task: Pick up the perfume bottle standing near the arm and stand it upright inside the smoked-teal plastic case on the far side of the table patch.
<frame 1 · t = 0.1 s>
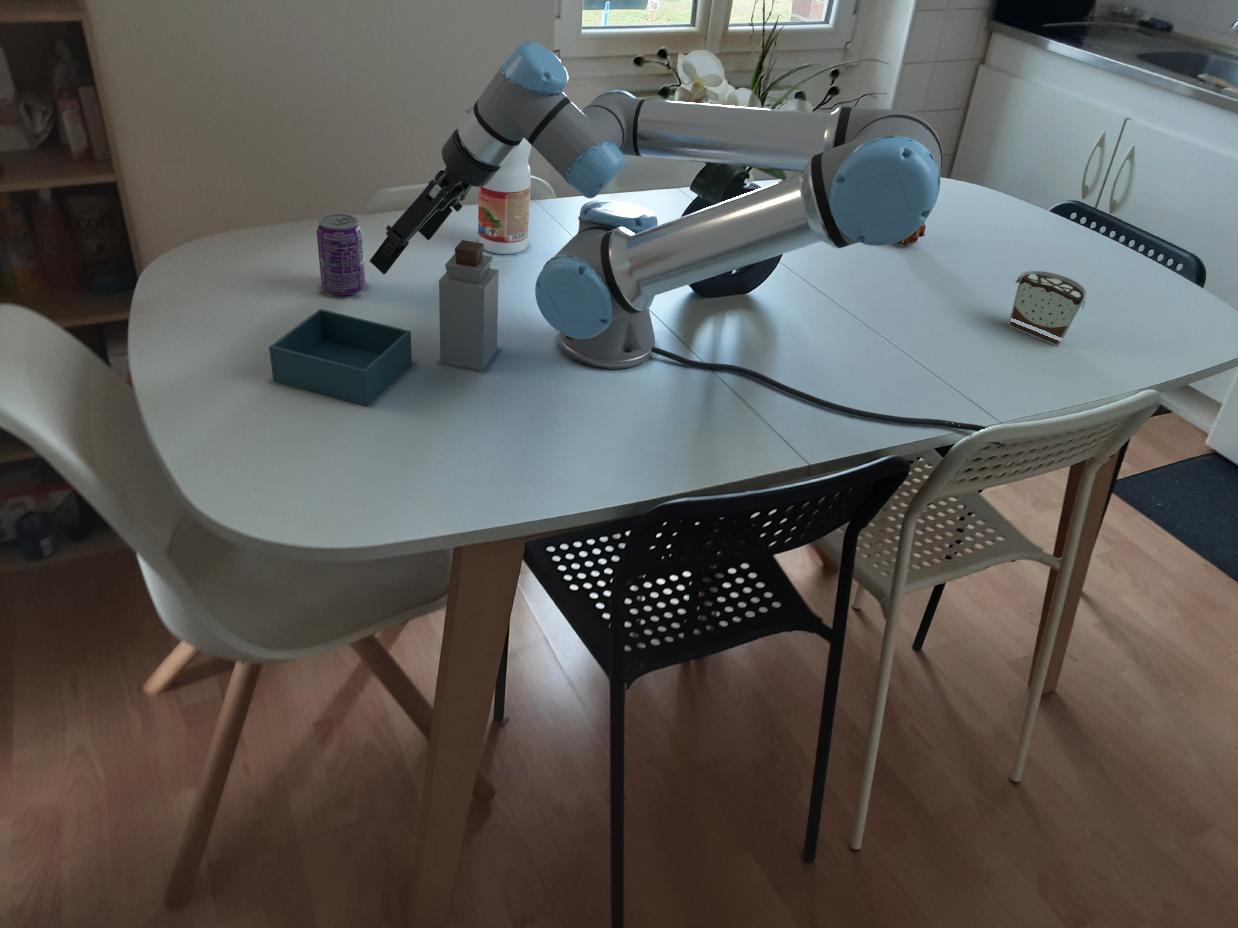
hand: (400, 249, 141), 15 cm above the table, tool tilted 35°, fingers open, 13 cm apart
fruit juice: (503, 246, 183), on the table
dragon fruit: (897, 241, 204), on the table
perfume bottle: (469, 357, 149), on the table
food container: (1039, 332, 175), on the table
case: (344, 372, 141), on the table
beverage can: (343, 290, 163), on the table
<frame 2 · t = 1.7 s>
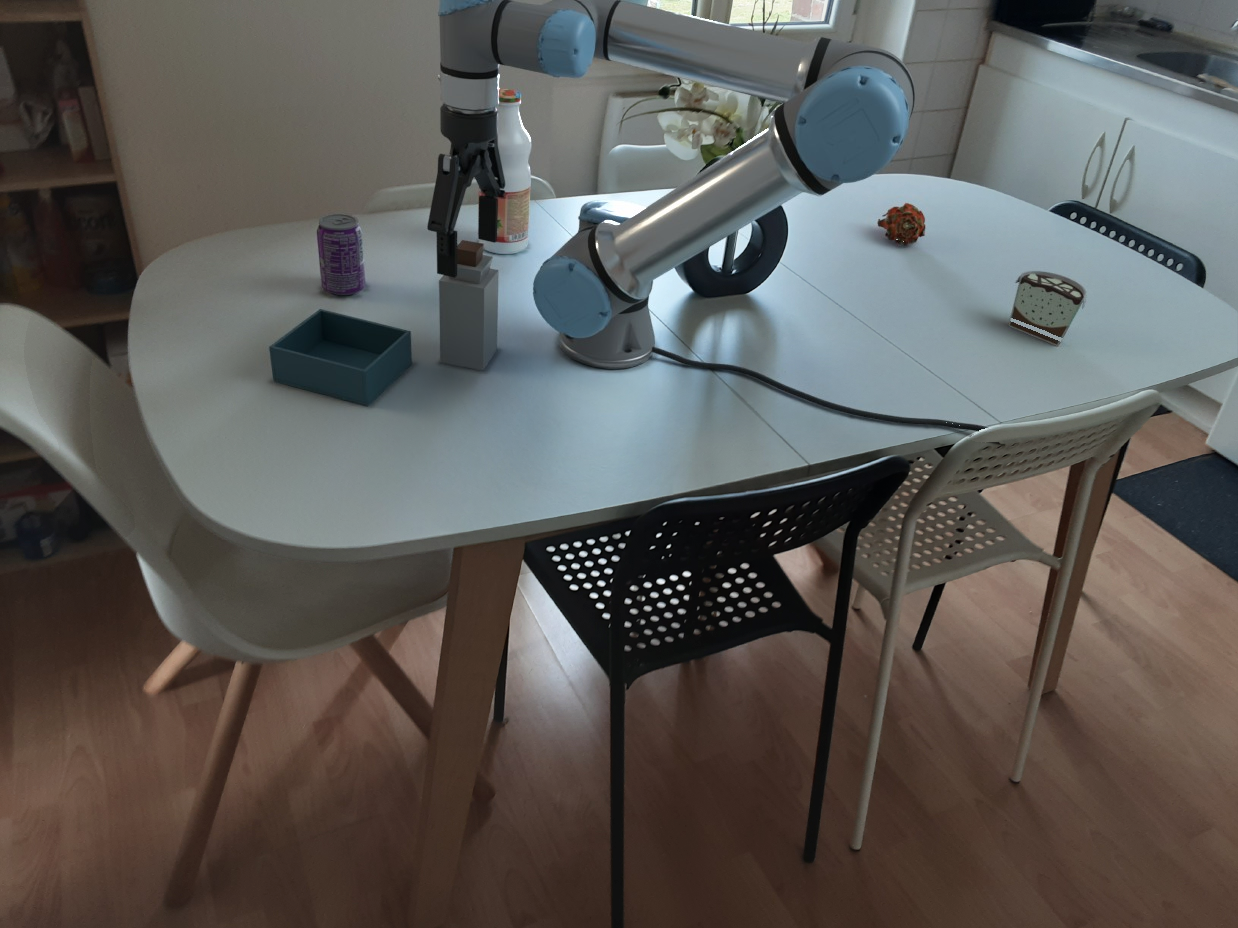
hand: (468, 257, 139), 16 cm above the table, tool pointing down, fingers open, 13 cm apart
nothing on the table moved.
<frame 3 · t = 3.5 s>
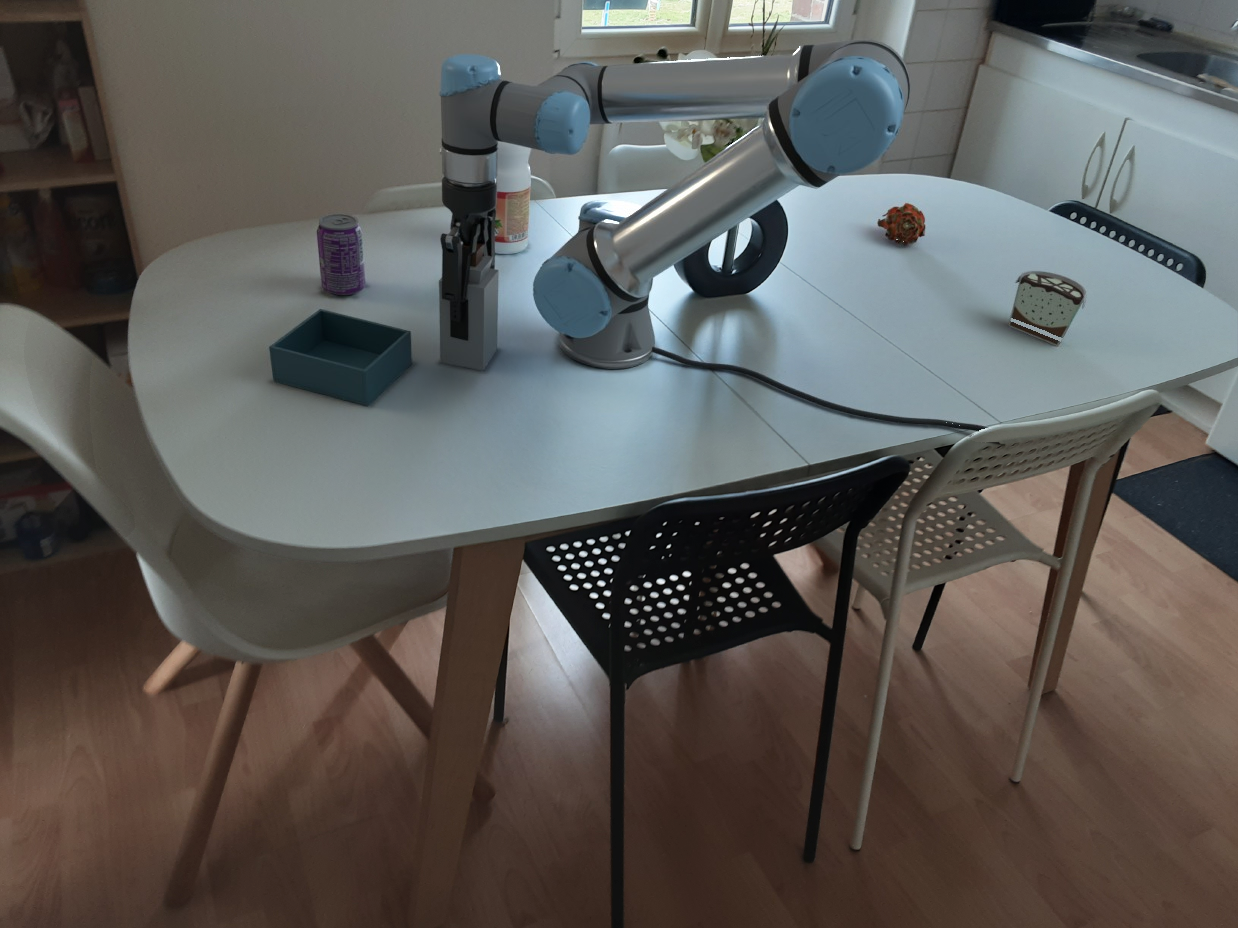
hand: (469, 328, 146), 5 cm above the table, tool pointing down, fingers closed on perfume bottle, 6 cm apart
perfume bottle: (469, 357, 149), on the table, touching gripper
everything else where it was.
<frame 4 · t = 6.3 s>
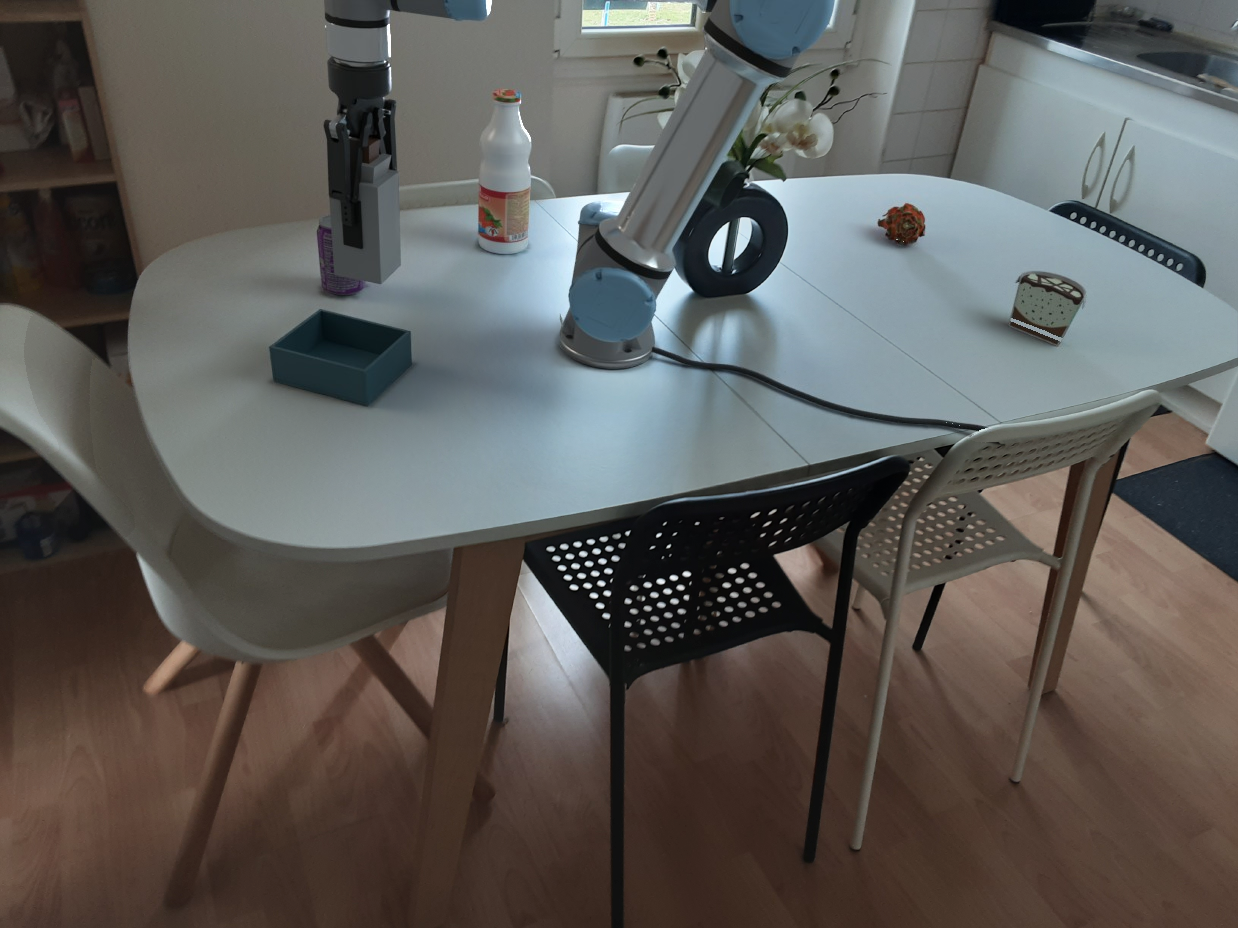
hand: (366, 237, 131), 20 cm above the table, tool pointing down, fingers closed on perfume bottle, 6 cm apart
perfume bottle: (368, 271, 134), point 15 cm above the table, touching gripper
everything else where it was.
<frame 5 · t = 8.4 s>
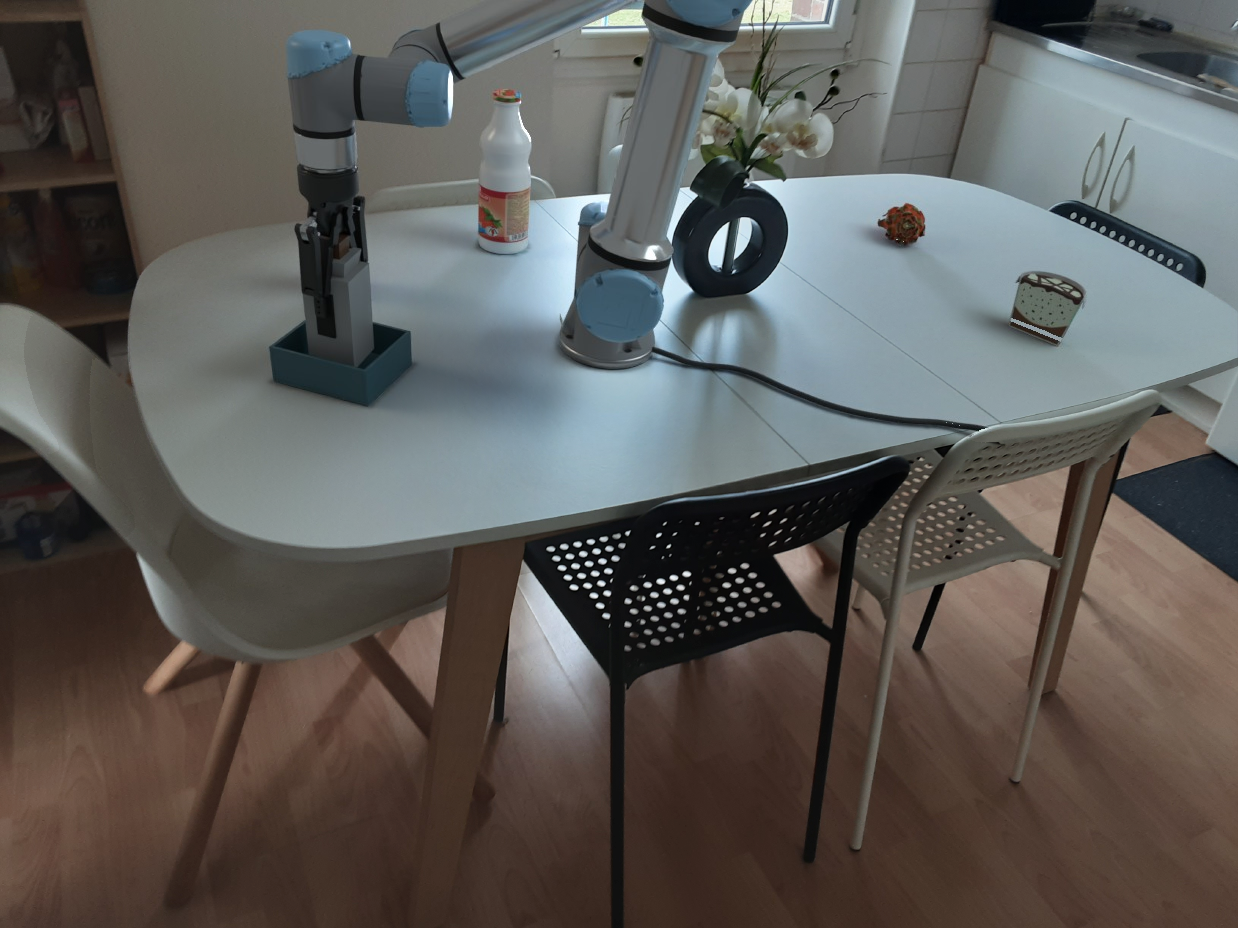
hand: (340, 325, 137), 8 cm above the table, tool pointing down, fingers closed on perfume bottle, 6 cm apart
perfume bottle: (342, 356, 140), point 3 cm above the table, touching gripper
everything else where it was.
when the fingers open (5 cm above the table, at t = 9.5 s): perfume bottle stays where it is, resting on case.
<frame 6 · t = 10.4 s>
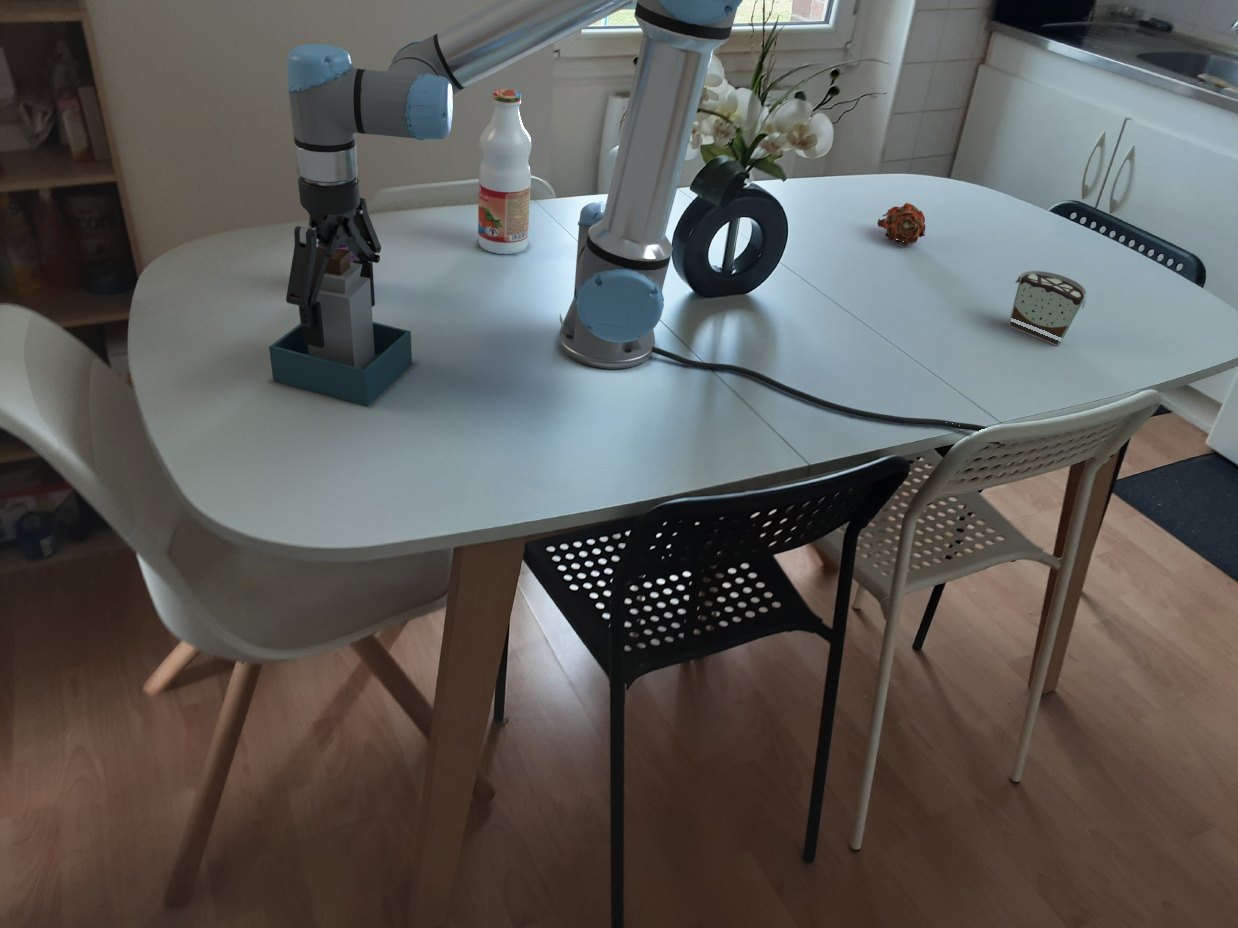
hand: (340, 323, 137), 8 cm above the table, tool pointing down, fingers open, 13 cm apart
perfume bottle: (343, 370, 141), resting on case
everything else where it was.
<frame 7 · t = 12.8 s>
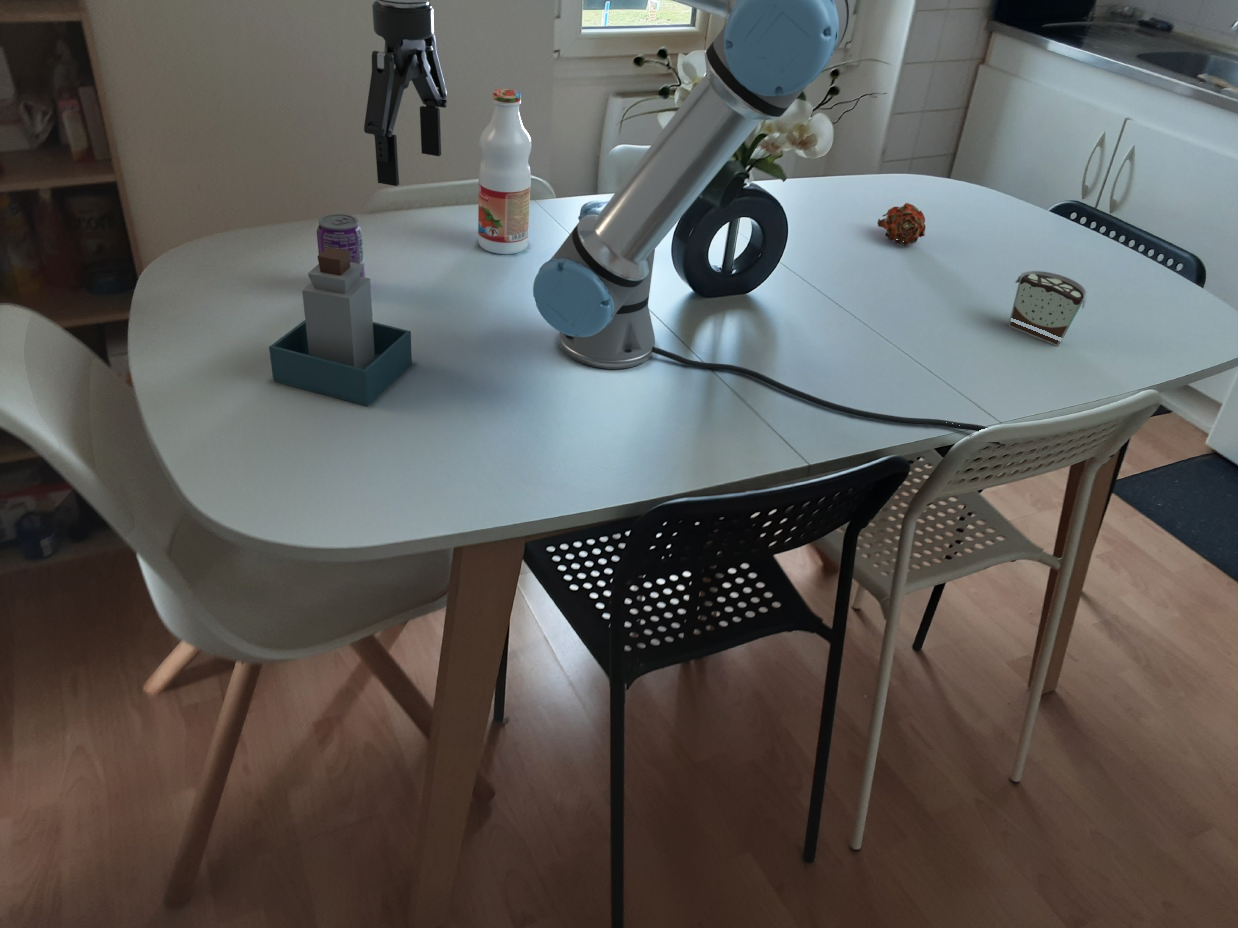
hand: (410, 168, 134), 28 cm above the table, tool pointing down, fingers open, 13 cm apart
nothing on the table moved.
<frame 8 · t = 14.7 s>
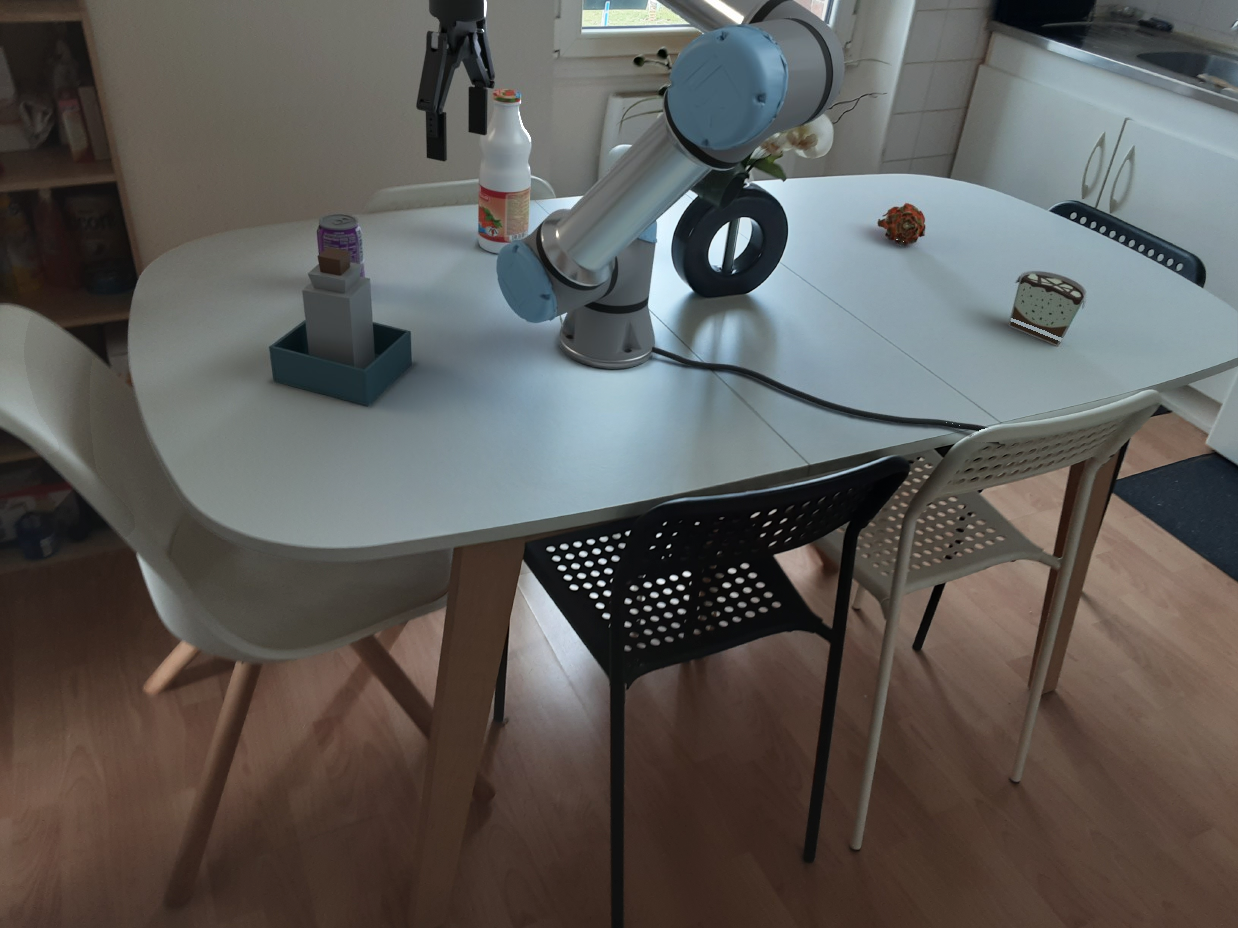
hand: (458, 146, 140), 29 cm above the table, tool pointing down, fingers open, 13 cm apart
nothing on the table moved.
at the end: perfume bottle inside the target area in the case (0.1 cm from its centre), point 0.4 cm above the case's base; perfume bottle tilted 0°; the gripper is holding nothing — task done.
